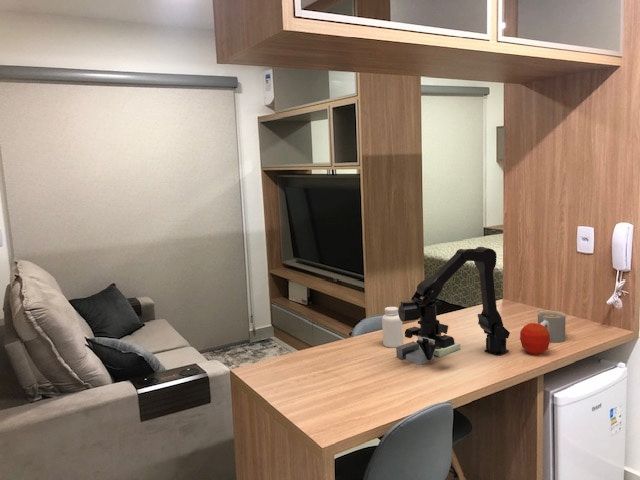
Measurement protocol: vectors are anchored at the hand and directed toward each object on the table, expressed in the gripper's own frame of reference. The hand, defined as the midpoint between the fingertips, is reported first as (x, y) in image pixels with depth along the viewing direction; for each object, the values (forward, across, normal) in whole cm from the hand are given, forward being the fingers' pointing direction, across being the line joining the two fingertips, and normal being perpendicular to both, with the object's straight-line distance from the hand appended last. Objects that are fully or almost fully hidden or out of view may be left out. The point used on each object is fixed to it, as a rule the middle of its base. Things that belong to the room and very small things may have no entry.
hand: (429, 360), depth 190 cm
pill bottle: (+1, +23, -4) cm, 23 cm away
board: (+2, +4, 0) cm, 5 cm away
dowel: (0, +7, -12) cm, 14 cm away
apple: (+1, -20, -34) cm, 40 cm away
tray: (+1, +7, -12) cm, 14 cm away
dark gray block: (+1, +10, 0) cm, 11 cm away
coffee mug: (+1, -16, -50) cm, 53 cm away
